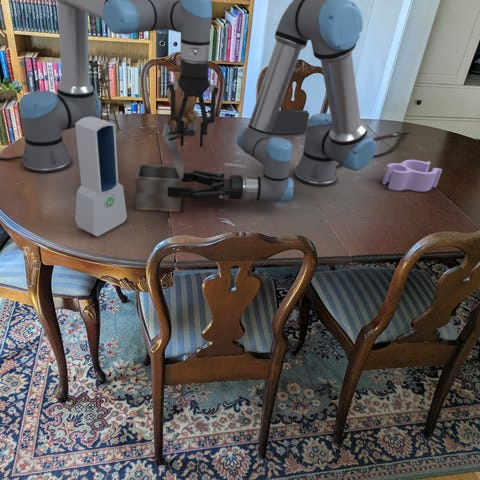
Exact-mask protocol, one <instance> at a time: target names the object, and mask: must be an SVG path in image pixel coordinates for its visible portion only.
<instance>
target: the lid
mask: <svg viewBox="0 0 480 480" xmlns="http://www.w3.org/2000/svg"><path fill="white" fill-rule="evenodd" d="M168 124H169V123H167V122H165V123H164V125H163V130H162V134H161V137H162V139H163V141H164V144H165V146H166V149H167V151H168V153H169V156H170V158H171V160H172V161H171V162H172V163H173V166H175V168H176V170H177V173H178V175H179V177H180V179H183V175H184V173H185V163H184V160H183V158H182V156H181V152H180V150H179V148H178V145H177V143H176V140H178V139H181V137H184V138H185V137H187V136H189V137H194V136H195V135H196V123H195V124H194V123H190V124H189V126H187V127H186V126H184V131H185V132H184V133H183V134H178V133H177V129H174V131H172V130H171V129H170V127H169V126H168ZM187 129H188V131H186V130H187ZM175 134H177V135H175Z"/></svg>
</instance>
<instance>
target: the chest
mask: <svg viewBox="0 0 480 480" xmlns="http://www.w3.org/2000/svg"><path fill="white" fill-rule="evenodd" d="M168 187H176V188H183V182H182V179H180V177H179V175H178V173H177V170H176V168H175V165H162V164H161V165H159V164H146V163H139V164H138V165H137V169H136V172H135V175H134V193H135V194H134V197H135V199H134V201H135V202H134V203H135V204H134V205H135V210H141V211H158V212H159V211H160V212H173V213H174V212H176V213H181V211H182V199H183V197H169V196H168Z"/></svg>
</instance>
